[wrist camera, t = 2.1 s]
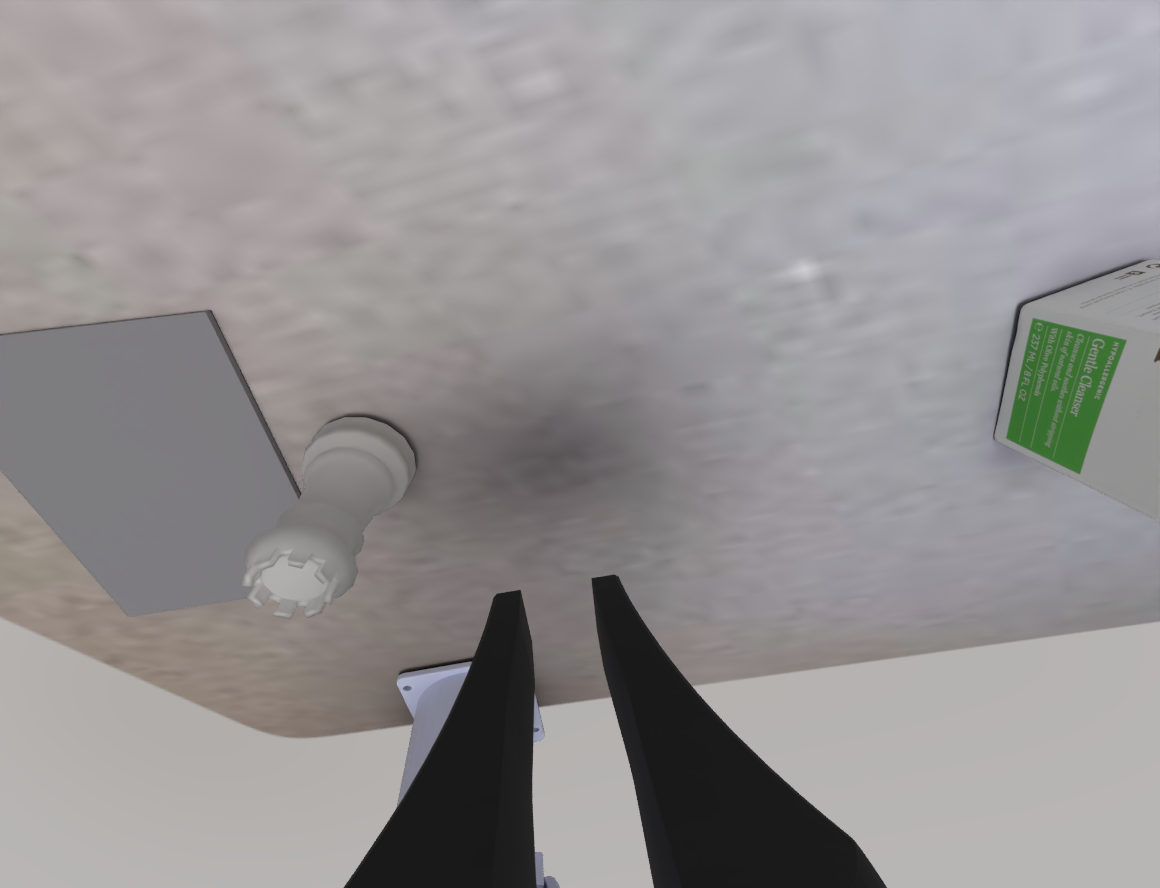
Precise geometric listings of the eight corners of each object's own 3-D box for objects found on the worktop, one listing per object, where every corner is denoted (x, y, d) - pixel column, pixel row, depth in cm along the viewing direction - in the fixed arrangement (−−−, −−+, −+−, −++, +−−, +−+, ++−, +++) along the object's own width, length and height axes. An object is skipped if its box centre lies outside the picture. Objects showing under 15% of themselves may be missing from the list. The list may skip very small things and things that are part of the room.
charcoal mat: (342, 579, 23) (340, 583, 23) (132, 612, 23) (128, 617, 22) (210, 310, 17) (205, 312, 16) (-97, 345, 16) (-107, 348, 16)
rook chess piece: (339, 392, 19) (235, 505, 12) (436, 444, 20) (395, 569, 13) (296, 468, 20) (180, 610, 13) (390, 510, 22) (331, 656, 15)
